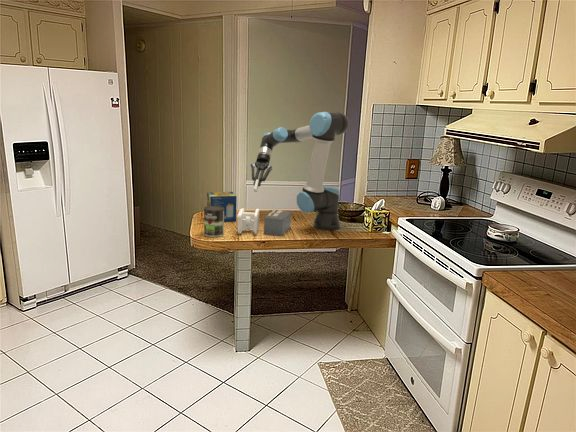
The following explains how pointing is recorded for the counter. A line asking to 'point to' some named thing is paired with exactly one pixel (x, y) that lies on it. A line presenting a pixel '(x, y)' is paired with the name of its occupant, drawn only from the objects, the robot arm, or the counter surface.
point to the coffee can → (213, 221)
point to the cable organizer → (248, 221)
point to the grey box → (277, 222)
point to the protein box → (224, 203)
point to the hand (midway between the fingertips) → (255, 190)
